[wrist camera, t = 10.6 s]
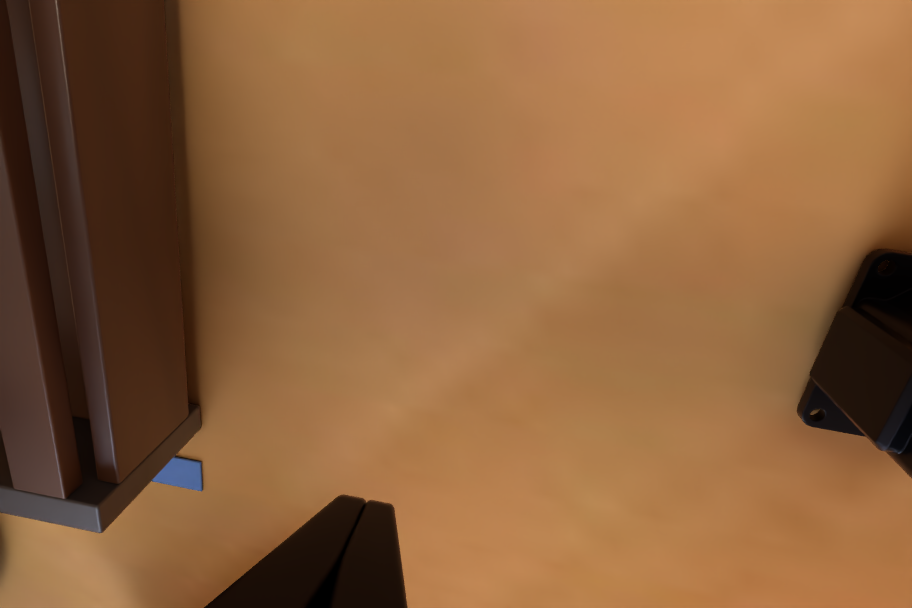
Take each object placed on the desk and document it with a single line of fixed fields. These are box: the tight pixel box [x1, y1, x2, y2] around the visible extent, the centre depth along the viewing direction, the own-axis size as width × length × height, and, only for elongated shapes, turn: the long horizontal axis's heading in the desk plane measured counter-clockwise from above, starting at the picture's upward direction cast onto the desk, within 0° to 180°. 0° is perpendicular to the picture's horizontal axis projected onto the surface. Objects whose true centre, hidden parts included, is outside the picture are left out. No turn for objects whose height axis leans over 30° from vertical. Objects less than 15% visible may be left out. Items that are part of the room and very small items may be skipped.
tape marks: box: [152, 456, 203, 491], centre depth 20 cm, size 10×25×1 cm, turn 172°
